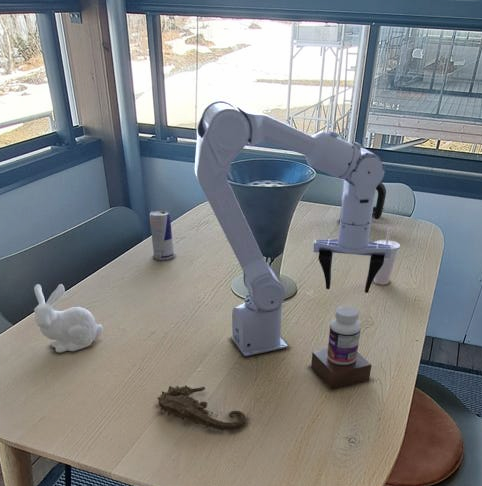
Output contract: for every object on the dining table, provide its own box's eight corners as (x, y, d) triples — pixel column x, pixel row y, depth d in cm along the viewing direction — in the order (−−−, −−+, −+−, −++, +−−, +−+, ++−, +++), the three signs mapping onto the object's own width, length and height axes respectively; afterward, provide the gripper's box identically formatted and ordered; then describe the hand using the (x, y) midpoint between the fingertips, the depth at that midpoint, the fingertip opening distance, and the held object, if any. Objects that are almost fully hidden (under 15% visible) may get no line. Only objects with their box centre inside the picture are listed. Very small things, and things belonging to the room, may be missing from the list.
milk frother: (337, 226, 167) (342, 177, 158) (339, 211, 180) (344, 165, 171) (382, 229, 166) (390, 179, 157) (381, 214, 178) (388, 167, 169)
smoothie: (365, 284, 132) (373, 228, 124) (371, 274, 137) (379, 220, 129) (391, 288, 130) (401, 232, 122) (395, 278, 135) (405, 224, 127)
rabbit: (45, 358, 103) (30, 302, 96) (40, 336, 109) (25, 283, 102) (108, 345, 107) (98, 291, 100) (98, 325, 114) (88, 272, 106)
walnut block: (331, 389, 95) (333, 373, 93) (311, 367, 101) (312, 351, 99) (369, 380, 98) (371, 364, 96) (347, 359, 104) (349, 343, 102)
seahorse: (211, 447, 82) (210, 432, 80) (146, 404, 91) (144, 389, 89) (251, 421, 88) (251, 406, 86) (186, 382, 97) (185, 368, 95)
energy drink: (177, 255, 146) (174, 211, 139) (165, 262, 142) (160, 217, 135) (162, 251, 148) (158, 208, 141) (150, 257, 145) (145, 213, 138)
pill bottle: (325, 350, 100) (330, 303, 94) (354, 350, 99) (361, 303, 94) (328, 365, 95) (333, 317, 89) (357, 366, 95) (365, 318, 89)
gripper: (395, 216, 99) (384, 283, 107) (318, 211, 102) (313, 277, 110) (395, 228, 94) (384, 298, 102) (314, 222, 96) (309, 291, 104)
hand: (347, 288), depth 105 cm, fingers open, 7 cm apart
